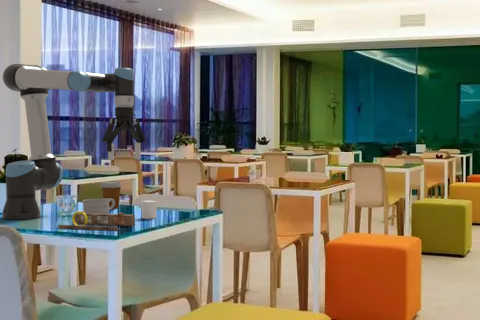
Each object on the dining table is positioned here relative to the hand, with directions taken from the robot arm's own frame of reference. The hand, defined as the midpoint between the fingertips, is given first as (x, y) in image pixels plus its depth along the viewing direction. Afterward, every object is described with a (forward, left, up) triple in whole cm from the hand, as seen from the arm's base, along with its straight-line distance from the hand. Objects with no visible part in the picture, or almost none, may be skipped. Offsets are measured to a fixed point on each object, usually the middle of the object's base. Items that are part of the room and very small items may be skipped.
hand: (124, 159), depth 288 cm
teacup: (-13, +3, -25) cm, 28 cm away
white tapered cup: (+7, +8, -25) cm, 27 cm away
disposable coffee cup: (-23, +34, -25) cm, 48 cm away
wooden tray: (-2, -20, -24) cm, 32 cm away
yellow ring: (-9, -21, -25) cm, 34 cm away
